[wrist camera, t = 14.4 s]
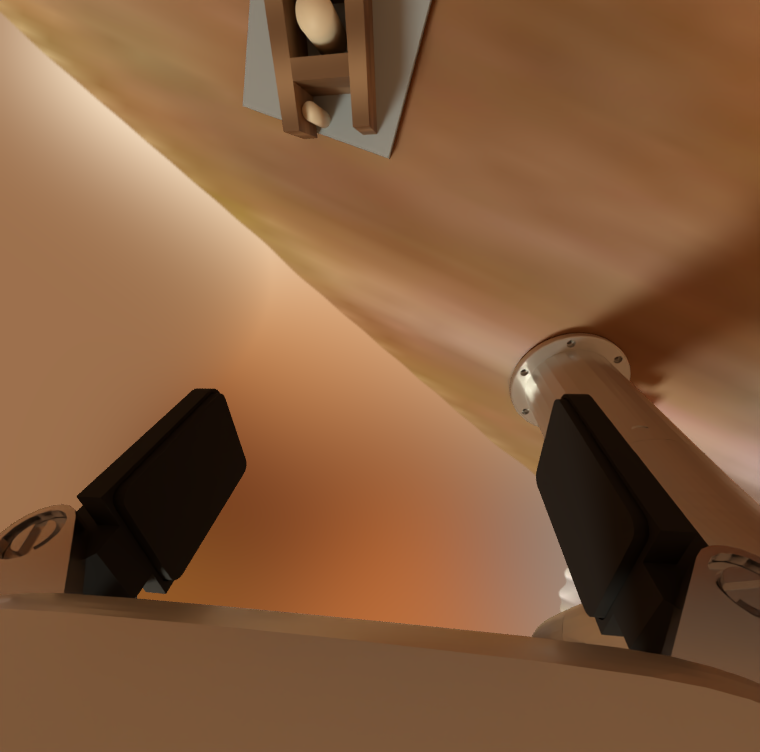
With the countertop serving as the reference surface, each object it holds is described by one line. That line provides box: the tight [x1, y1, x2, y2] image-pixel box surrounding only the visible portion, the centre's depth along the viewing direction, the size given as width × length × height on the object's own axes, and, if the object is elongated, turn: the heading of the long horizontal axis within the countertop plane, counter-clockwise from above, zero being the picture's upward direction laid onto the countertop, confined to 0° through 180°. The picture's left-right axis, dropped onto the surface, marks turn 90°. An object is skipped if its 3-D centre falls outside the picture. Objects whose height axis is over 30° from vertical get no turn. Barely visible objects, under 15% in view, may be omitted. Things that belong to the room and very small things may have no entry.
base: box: [243, 0, 432, 159], centre depth 24 cm, size 13×13×6 cm
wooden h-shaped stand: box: [264, 0, 377, 139], centre depth 24 cm, size 12×6×5 cm, turn 3°
